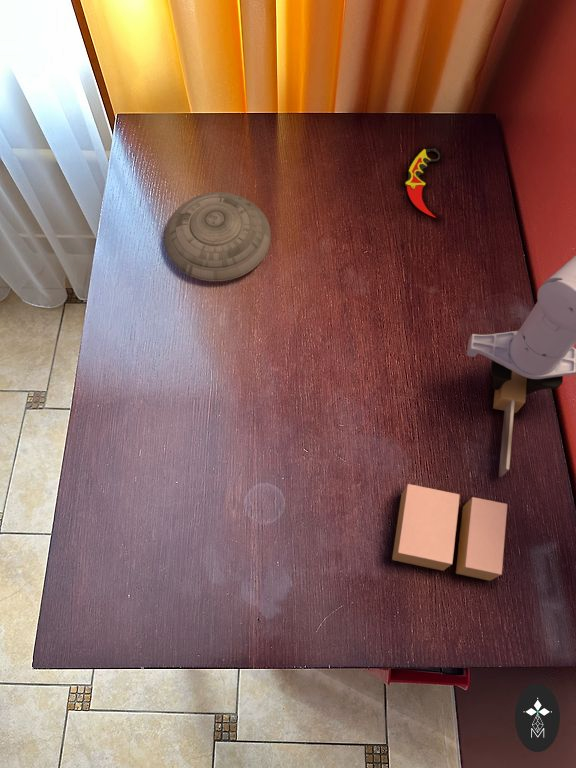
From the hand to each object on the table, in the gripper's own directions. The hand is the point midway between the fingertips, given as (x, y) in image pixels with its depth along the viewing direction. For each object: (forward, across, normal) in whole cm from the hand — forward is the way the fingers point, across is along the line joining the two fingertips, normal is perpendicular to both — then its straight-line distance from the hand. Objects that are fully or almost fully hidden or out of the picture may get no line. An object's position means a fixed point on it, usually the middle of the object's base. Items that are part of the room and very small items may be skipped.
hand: (510, 385), depth 87 cm
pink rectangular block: (+1, +8, +20) cm, 22 cm away
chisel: (+1, 0, +4) cm, 5 cm away
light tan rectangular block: (+1, +2, +20) cm, 21 cm away
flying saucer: (+2, +42, -14) cm, 44 cm away
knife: (+2, +15, -32) cm, 35 cm away
